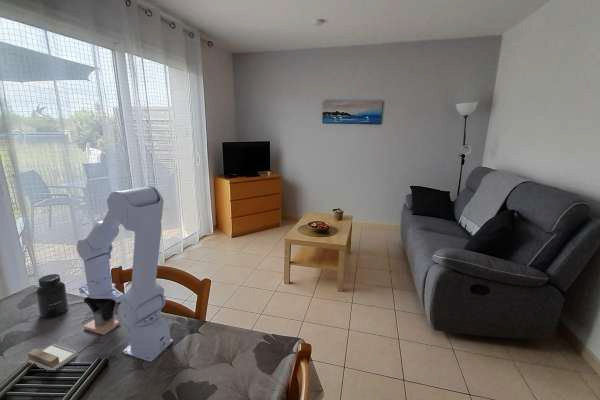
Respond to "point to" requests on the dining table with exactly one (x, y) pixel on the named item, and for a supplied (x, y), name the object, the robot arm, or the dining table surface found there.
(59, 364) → the board
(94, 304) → the robot arm
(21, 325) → the dining table surface
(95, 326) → the grey and peach block
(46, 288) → the supplement bottle
